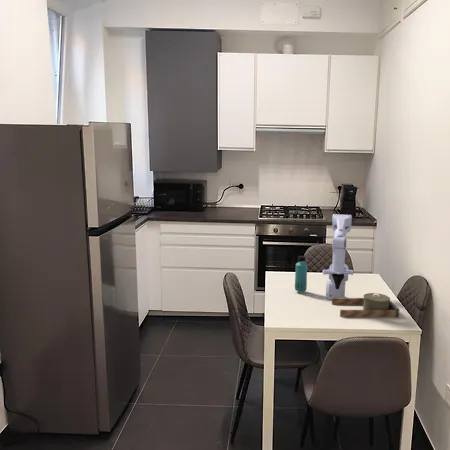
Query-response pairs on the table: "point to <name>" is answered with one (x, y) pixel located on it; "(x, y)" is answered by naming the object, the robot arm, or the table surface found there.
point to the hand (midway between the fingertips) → (337, 288)
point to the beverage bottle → (301, 274)
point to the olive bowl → (376, 301)
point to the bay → (391, 312)
